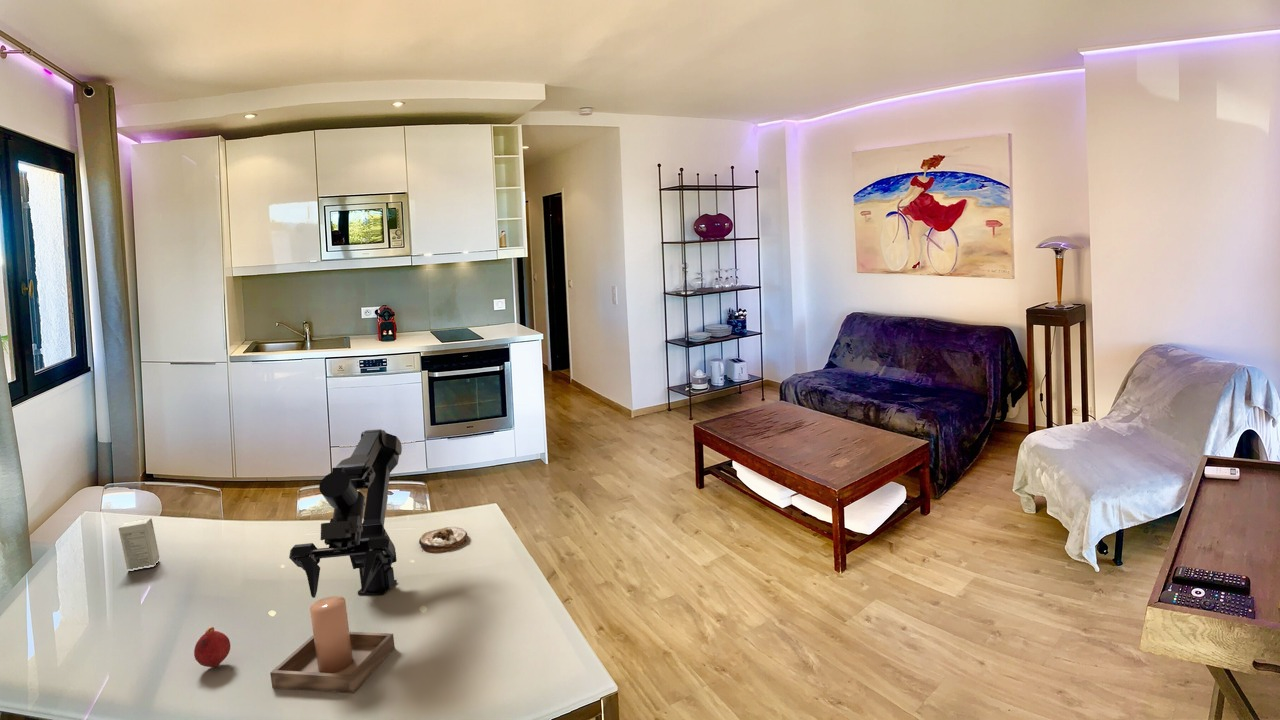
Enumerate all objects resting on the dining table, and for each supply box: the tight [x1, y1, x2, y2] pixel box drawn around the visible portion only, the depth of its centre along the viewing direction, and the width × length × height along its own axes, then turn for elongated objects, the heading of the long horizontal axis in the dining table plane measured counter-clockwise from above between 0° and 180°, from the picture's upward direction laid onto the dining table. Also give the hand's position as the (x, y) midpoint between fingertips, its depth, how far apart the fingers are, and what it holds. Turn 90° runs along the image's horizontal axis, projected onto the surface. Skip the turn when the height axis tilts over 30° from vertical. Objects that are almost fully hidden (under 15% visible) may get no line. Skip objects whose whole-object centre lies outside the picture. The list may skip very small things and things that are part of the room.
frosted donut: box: [418, 526, 468, 553], centre depth 184 cm, size 15×15×4 cm
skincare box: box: [118, 517, 160, 570], centre depth 177 cm, size 6×4×12 cm
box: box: [269, 631, 396, 694], centre depth 128 cm, size 16×14×3 cm
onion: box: [193, 626, 231, 668], centre depth 130 cm, size 6×6×8 cm
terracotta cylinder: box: [309, 595, 353, 673], centre depth 128 cm, size 6×6×12 cm
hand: (338, 594), depth 133 cm, fingers open, 9 cm apart
